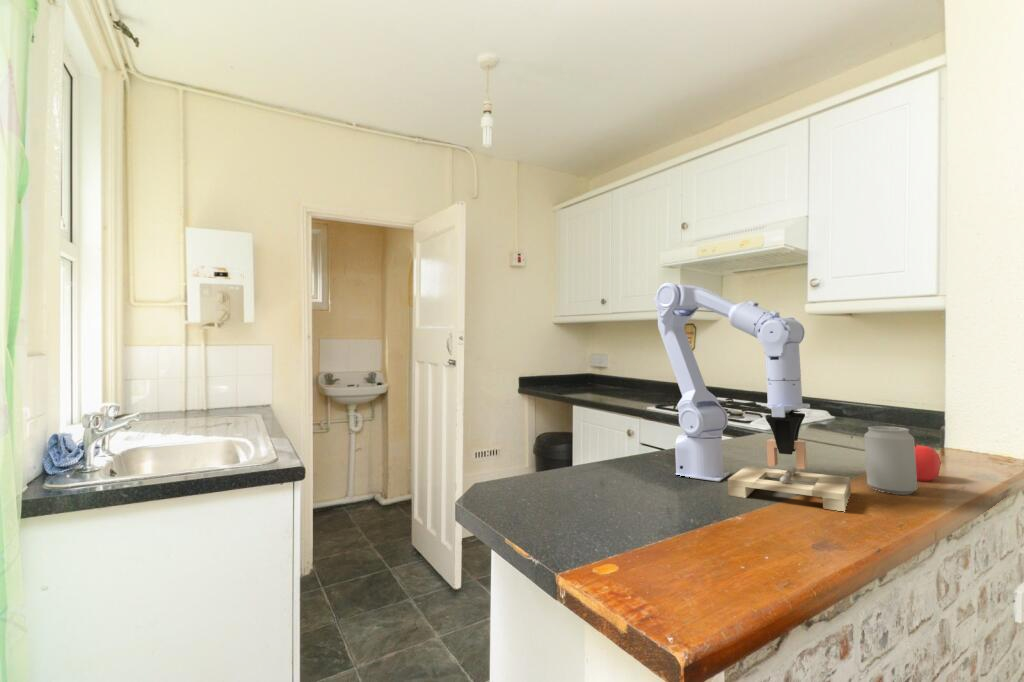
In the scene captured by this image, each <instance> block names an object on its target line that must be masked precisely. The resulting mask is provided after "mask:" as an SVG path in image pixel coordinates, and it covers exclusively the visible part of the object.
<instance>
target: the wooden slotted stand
mask: <svg viewBox="0 0 1024 682" xmlns="http://www.w3.org/2000/svg"><path fill="white" fill-rule="evenodd" d="M766 478H771V479H779V481H778V480H771V479H770V480H769V479H766ZM790 481H798V482H804V483H805V482H808V483H813V484H814V483H815V484H814V485H813V484H804V483H803V484H802V483H795V482H790ZM756 489H758V490H764V491H765V490H766V491H773V492H779V493H780V492H781V493H786V494H787V493H788V494H795V495H802V496H809V497H817V498H822V508H826V509H831V510H837V511H844V512H845V513H846V511H845V510H847V508H846V506H847V507H848V505H847V503H848V504H849V501H848V499H849V500H850V498H849V496H850V497H851V495H850V492H851V493H852V491H851V477H850V476H849V477H848V476H840V475H831V474H823V473H814V472H802V471H797V468H795V466H794V467H793V466H791V467H790V468H789V469H787V470H784V469H777V468H775V469H774V468H767V467H759V466H758V467H757V466H756V467H755V466H749V465H748V466H747V465H745V466H743V467H742V468H741V469H740V470H738V471H737V472H736V473H734V474H732V475H731V476H730V477H728V478H727V492H728V493H727V496H729V497H730V496H731V497H736V498H737V497H738V498H744V499H746V498H748V496H750V494H752V493H753V492H754V490H756ZM837 511H836V512H837ZM844 512H843V513H844Z"/></svg>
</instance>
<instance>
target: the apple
mask: <svg viewBox="0 0 1024 682" xmlns="http://www.w3.org/2000/svg"><path fill="white" fill-rule="evenodd" d="M916 443H917V442H916V439H914V444H915V459H916V474H917V480H920V481H919V482H926V481H927V482H930V481H932V480H934V479H936V478H937V477H939V474H940V470H941V465H942V461H941V458H940V456H939V453H937V451H936V450H935V449H934V448H933V447H929V446H927V445H921V444H916Z"/></svg>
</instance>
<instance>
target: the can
mask: <svg viewBox="0 0 1024 682" xmlns="http://www.w3.org/2000/svg"><path fill="white" fill-rule="evenodd" d="M867 429H868V431H866V432H865V433H864V435H863V437H864V439H863V440H864V452H865V453H864V455H865V471H866V484H867V485H868V486H869V487H871V488H872V489H873V488H874V489H877V490H880V491H884V492H889V493H892V494H891V495H899V494H900V495H901V496H903V495H904V496H905V495H906V496H907V495H912V494H913V493H914V492H916V491H917V490H918V481H917V474H916V459H915V444H914V440H915V437H914V436H913V435H912V434H910V433H909V431H910V429H909V428H906V427H900V426H888V425H887V426H886V425H885V426H884V425H882V426H881V425H880V426H879V425H877V426H876V425H874V426H868V427H867ZM874 489H873V490H874ZM884 492H883V493H884ZM889 493H888V494H889Z"/></svg>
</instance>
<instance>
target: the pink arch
mask: <svg viewBox="0 0 1024 682" xmlns="http://www.w3.org/2000/svg"><path fill="white" fill-rule="evenodd" d="M806 445H807V444H806V441H802V440H797V441H794V449H796V450H795V457H796V459H795V461H796V470H798V469H800V470H805V469H806V468H808V466H807V465H808V464H807V463H808V461H807V446H806ZM766 457H767V459H766V460H767V462H766V463H767V466H769V467H776V466H778V464H779V461H778V449H777V445H776V441H775V438H769V439H767V440H766Z"/></svg>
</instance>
